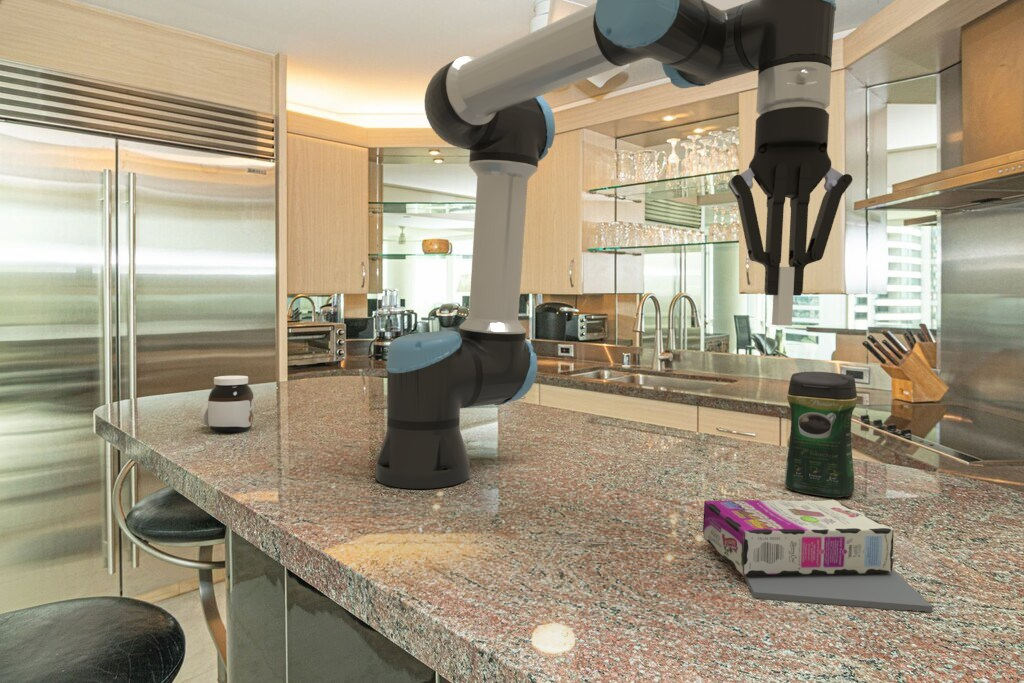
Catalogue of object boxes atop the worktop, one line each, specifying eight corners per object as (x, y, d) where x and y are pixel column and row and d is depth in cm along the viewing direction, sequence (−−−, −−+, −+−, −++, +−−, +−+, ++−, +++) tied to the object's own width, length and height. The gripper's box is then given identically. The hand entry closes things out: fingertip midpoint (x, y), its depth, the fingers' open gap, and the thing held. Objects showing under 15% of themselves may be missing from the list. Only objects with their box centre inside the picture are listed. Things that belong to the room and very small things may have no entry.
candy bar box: (741, 579, 66) (894, 575, 67) (742, 531, 66) (896, 528, 67) (701, 540, 77) (833, 537, 79) (702, 499, 77) (835, 497, 78)
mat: (753, 598, 63) (754, 592, 63) (725, 539, 79) (725, 534, 79) (932, 612, 61) (932, 606, 61) (866, 549, 77) (866, 544, 77)
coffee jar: (857, 491, 101) (863, 372, 100) (847, 503, 95) (852, 376, 94) (792, 480, 107) (797, 368, 106) (778, 490, 101) (783, 371, 100)
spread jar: (239, 435, 135) (238, 380, 134) (185, 434, 135) (184, 379, 135) (262, 425, 147) (261, 373, 146) (212, 424, 147) (212, 373, 147)
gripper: (737, 104, 70) (727, 324, 71) (867, 101, 68) (855, 328, 69) (725, 123, 77) (717, 322, 78) (842, 121, 75) (831, 325, 77)
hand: (781, 324), depth 74 cm, fingers closed
